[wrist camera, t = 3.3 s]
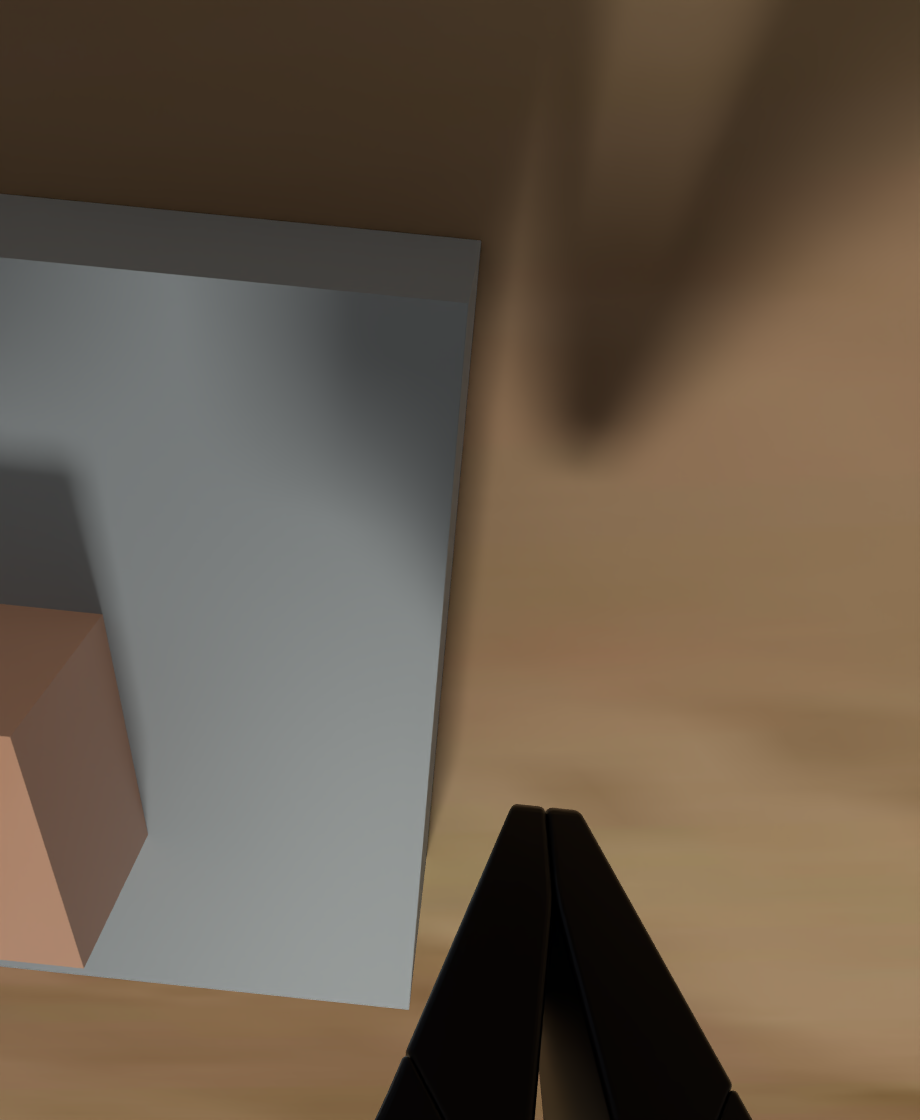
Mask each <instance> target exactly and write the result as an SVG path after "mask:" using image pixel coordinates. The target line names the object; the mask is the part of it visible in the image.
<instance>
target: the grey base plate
mask: <svg viewBox="0 0 920 1120" xmlns="http://www.w3.org/2000/svg"><path fill="white" fill-rule="evenodd" d="M480 250H481V240H471V239H461V238H450V237H440V236H430V235H420V234H409V233H399V232H389V231H378V230H368V229H358V228H348V227H337V226H327V225H317V224H306V223H296V222H286V221H276V220H265V219H255V218H245V217H234V216H224V215H214V214H204V213H193V212H183V211H173V210H162V209H152V208H142V207H131V206H121V205H111V204H101V203H90V202H80V201H70V200H59V199H49V198H39V197H29V196H18V195H8V194H0V604H6V605H16V606H26V607H36V608H46V609H55V610H65V611H75V612H85V613H95V614H103V619H104V623H105V628H106V633H107V638H108V643H109V648H110V653H111V657H112V662H113V667H114V672H115V677H116V682H117V687H118V691H119V696H120V701H121V706H122V711H123V716H124V721H125V725H126V730H127V735H128V740H129V745H130V750H131V755H132V759H133V764H134V769H135V774H136V779H137V784H138V788H139V793H140V798H141V803H142V808H143V813H144V818H145V822H146V827H147V832H148V836H147V838H146V840H145V842H144V844H143V846H142V848H141V851H140V853H139V855H138V857H137V859H136V861H135V863H134V865H133V867H132V869H131V871H130V873H129V876H128V878H127V880H126V882H125V884H124V886H123V888H122V890H121V892H120V894H119V896H118V899H117V901H116V903H115V905H114V907H113V909H112V911H111V913H110V915H109V917H108V919H107V921H106V924H105V926H104V928H103V930H102V932H101V934H100V936H99V938H98V940H97V942H96V944H95V946H94V949H93V951H92V953H91V955H90V957H89V959H88V961H87V963H86V965H85V967H84V969H83V968H73V967H64V966H55V965H45V964H36V963H26V962H17V961H7V960H0V966H2V967H11V968H20V969H30V970H39V971H49V972H58V973H68V974H77V975H86V976H96V977H105V978H115V979H124V980H133V981H143V982H152V983H162V984H171V985H181V986H190V987H199V988H209V989H218V990H228V991H237V992H247V993H256V994H265V995H275V996H284V997H294V998H303V999H312V1000H322V1001H331V1002H341V1003H350V1004H360V1005H369V1006H378V1007H388V1008H397V1009H407V1010H409V1005H410V996H411V987H412V978H413V970H414V961H415V952H416V943H417V935H418V926H419V917H420V908H421V900H422V891H423V882H424V873H425V865H426V855H427V843H428V832H429V821H430V810H431V799H432V787H433V776H434V765H435V754H436V743H437V731H438V720H439V709H440V698H441V687H442V675H443V664H444V653H445V642H446V631H447V619H448V608H449V597H450V586H451V574H452V563H453V552H454V541H455V530H456V518H457V507H458V496H459V485H460V474H461V462H462V451H463V440H464V429H465V418H466V406H467V395H468V384H469V373H470V362H471V350H472V339H473V328H474V317H475V306H476V294H477V283H478V272H479V261H480Z"/></svg>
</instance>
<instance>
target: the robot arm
mask: <svg viewBox="0 0 920 1120" xmlns="http://www.w3.org/2000/svg"><path fill="white" fill-rule="evenodd" d="M538 1074H540V1085H541V1097H542V1108H543V1119H544V1120H752V1118H751V1117H750V1115H749V1113H748V1111H747V1109H746V1108H745V1106H744V1104H743V1102H742V1100H741V1099H740V1097H739V1095H738V1093H737V1092H736V1091H730V1090H731V1087H732V1084H731V1081H730V1080H729V1078H728V1076H727V1074H726V1072H725V1071H724V1069H723V1067H722V1065H721V1063H720V1062H719V1060H718V1058H717V1056H716V1054H715V1053H714V1051H713V1049H712V1047H711V1045H710V1044H709V1042H708V1040H707V1038H706V1036H705V1035H704V1033H703V1031H702V1029H701V1028H700V1026H699V1024H698V1022H697V1020H696V1019H695V1017H694V1015H693V1013H692V1011H691V1010H690V1008H689V1006H688V1004H687V1002H686V1001H685V999H684V997H683V995H682V993H681V992H680V990H679V988H678V986H677V984H676V983H675V981H674V979H673V977H672V976H671V974H670V972H669V970H668V968H667V967H666V965H665V963H664V961H663V959H662V958H661V956H660V954H659V952H658V950H657V949H656V947H655V945H654V943H653V941H652V940H651V938H650V936H649V934H648V932H647V931H646V929H645V927H644V925H643V924H642V922H641V920H640V918H639V916H638V915H637V913H636V911H635V909H634V907H633V906H632V904H631V902H630V900H629V898H628V897H627V895H626V893H625V891H624V889H623V888H622V886H621V884H620V882H619V880H618V879H617V877H616V875H615V873H614V872H613V870H612V868H611V866H610V864H609V863H608V861H607V859H606V857H605V855H604V854H603V852H602V850H601V848H600V846H599V845H598V843H597V841H596V839H595V837H594V836H593V834H592V832H591V830H590V828H589V827H588V825H587V823H586V821H585V820H584V818H583V816H582V815H581V814H580V813H579V812H578V811H575V810H569V809H559V808H549V809H547V810H546V812H545V810H544V809H543V808H542V807H539V806H530V805H520V804H515V805H513V806H512V807H511V809H510V811H509V813H508V815H507V818H506V820H505V822H504V825H503V827H502V829H501V832H500V834H499V836H498V839H497V841H496V843H495V846H494V848H493V850H492V853H491V855H490V857H489V859H488V862H487V864H486V866H485V869H484V871H483V873H482V876H481V878H480V880H479V883H478V885H477V887H476V890H475V892H474V894H473V897H472V899H471V901H470V904H469V906H468V908H467V911H466V913H465V915H464V918H463V920H462V922H461V925H460V927H459V929H458V931H457V934H456V936H455V938H454V941H453V943H452V945H451V948H450V950H449V952H448V955H447V957H446V959H445V962H444V964H443V966H442V969H441V971H440V973H439V976H438V978H437V980H436V983H435V985H434V987H433V990H432V992H431V994H430V997H429V999H428V1001H427V1003H426V1006H425V1008H424V1010H423V1013H422V1015H421V1017H420V1020H419V1022H418V1024H417V1027H416V1029H415V1031H414V1034H413V1036H412V1038H411V1041H410V1043H409V1045H408V1048H407V1050H406V1056H405V1057H403V1058H402V1060H401V1063H400V1065H399V1067H398V1070H397V1072H396V1074H395V1077H394V1079H393V1081H392V1084H391V1086H390V1088H389V1091H388V1093H387V1095H386V1097H385V1099H384V1102H383V1104H382V1106H381V1108H380V1110H379V1112H378V1114H377V1116H376V1119H375V1120H535V1108H536V1097H537V1085H538Z"/></svg>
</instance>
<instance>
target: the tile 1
mask: <svg viewBox="0 0 920 1120" xmlns="http://www.w3.org/2000/svg"><path fill="white" fill-rule="evenodd" d="M147 836H148V832H147V827H146V822H145V818H144V813H143V808H142V803H141V798H140V793H139V788H138V784H137V779H136V774H135V769H134V764H133V759H132V755H131V750H130V745H129V740H128V735H127V730H126V725H125V721H124V716H123V711H122V706H121V701H120V696H119V691H118V687H117V682H116V677H115V672H114V667H113V662H112V657H111V653H110V648H109V643H108V638H107V633H106V628H105V623H104V619H103V614H95V613H85V612H75V611H65V610H55V609H46V608H36V607H26V606H16V605H6V604H0V960H7V961H17V962H26V963H36V964H45V965H55V966H64V967H73V968H83V969H84V967H85V965H86V963H87V961H88V959H89V957H90V955H91V953H92V951H93V949H94V946H95V944H96V942H97V940H98V938H99V936H100V934H101V932H102V930H103V928H104V926H105V924H106V921H107V919H108V917H109V915H110V913H111V911H112V909H113V907H114V905H115V903H116V901H117V899H118V896H119V894H120V892H121V890H122V888H123V886H124V884H125V882H126V880H127V878H128V876H129V873H130V871H131V869H132V867H133V865H134V863H135V861H136V859H137V857H138V855H139V853H140V851H141V848H142V846H143V844H144V842H145V840H146V838H147Z"/></svg>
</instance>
